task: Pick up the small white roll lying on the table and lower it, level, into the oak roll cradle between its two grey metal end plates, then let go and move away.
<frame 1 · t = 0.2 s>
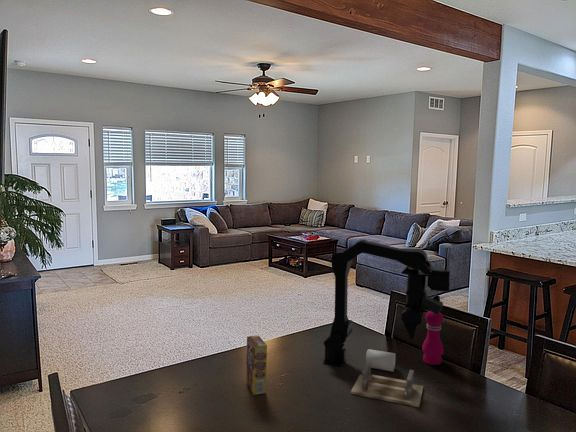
hand: (413, 334, 147), 14 cm above the table, tool pointing down, fingers open, 9 cm apart
roll: (380, 368, 154), on the table
candy box: (256, 388, 139), on the table
roll holder: (387, 391, 138), on the table
pepper mill: (432, 361, 160), on the table
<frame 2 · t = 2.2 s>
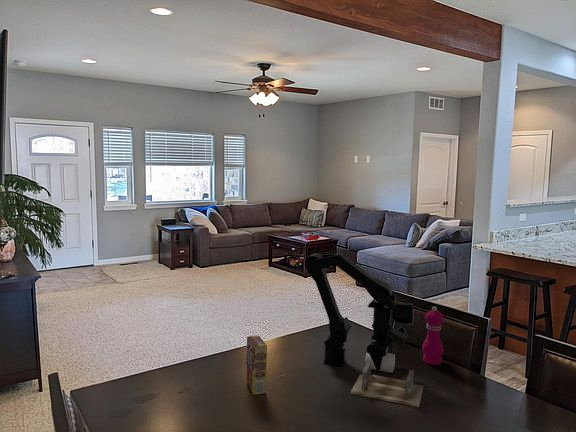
hand: (380, 364, 154), 1 cm above the table, tool pointing down, fingers open, 8 cm apart
roll: (380, 368, 154), on the table, tilted 18°, touching gripper
everything else where it was.
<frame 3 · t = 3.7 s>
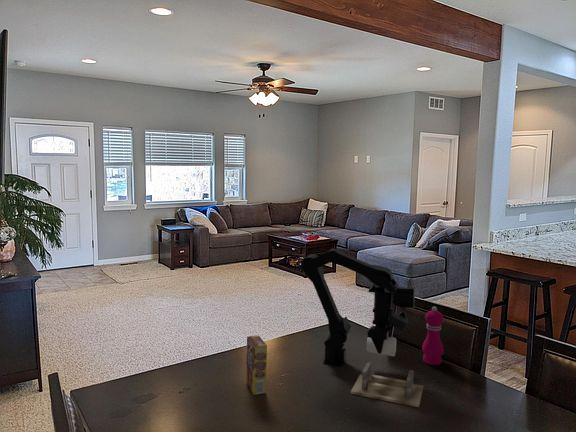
hand: (381, 349, 153), 7 cm above the table, tool pointing down, fingers closed on roll, 6 cm apart
roll: (381, 353, 153), point 5 cm above the table, touching gripper
everything else where it was.
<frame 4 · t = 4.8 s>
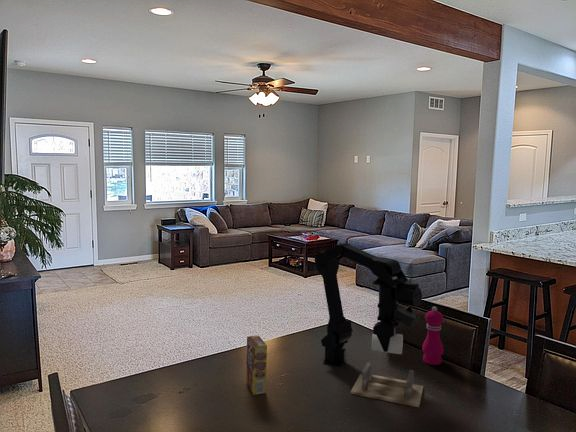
hand: (387, 347, 143), 11 cm above the table, tool pointing down, fingers closed on roll, 6 cm apart
roll: (387, 351, 143), point 10 cm above the table, touching gripper
everything else where it was.
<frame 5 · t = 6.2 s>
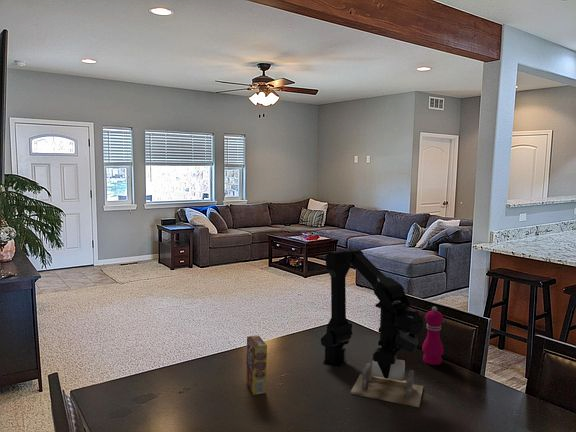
hand: (387, 373, 137), 6 cm above the table, tool pointing down, fingers closed on roll, 6 cm apart
roll: (388, 377, 138), point 4 cm above the table, touching gripper
everything else where it was.
when the fingers open (5 cm above the table, at t = 7.2 s): roll drops 2 cm, resting on roll holder.
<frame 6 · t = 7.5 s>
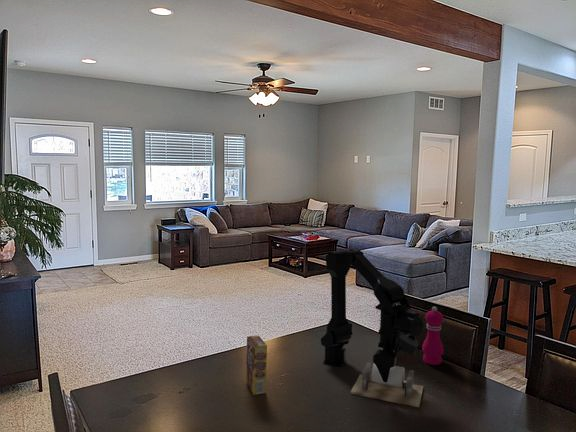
hand: (387, 375, 137), 5 cm above the table, tool pointing down, fingers open, 9 cm apart
roll: (387, 384, 138), point 2 cm above the table, touching roll holder
everything else where it was.
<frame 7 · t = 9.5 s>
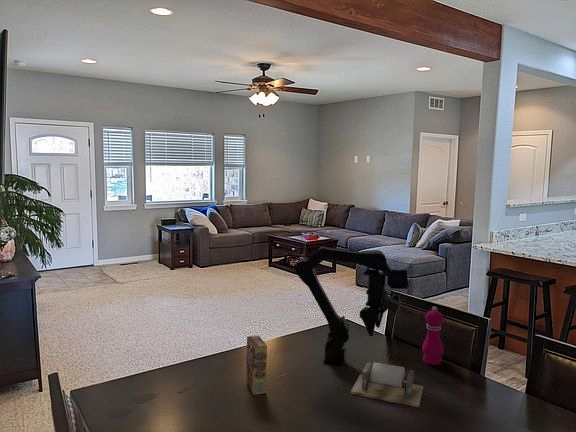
hand: (374, 331, 155), 12 cm above the table, tool pointing down, fingers open, 9 cm apart
nothing on the table moved.
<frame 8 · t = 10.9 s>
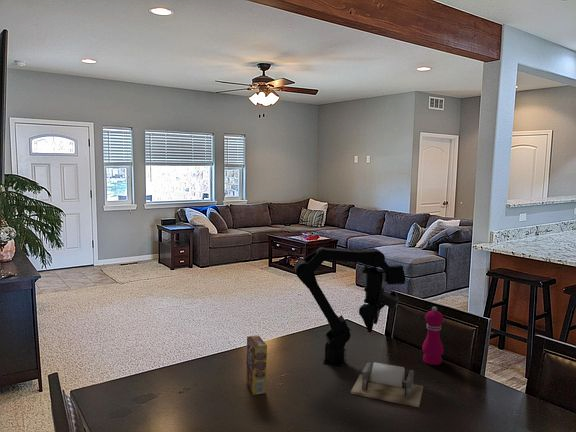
hand: (372, 328, 158), 12 cm above the table, tool pointing down, fingers open, 9 cm apart
nothing on the table moved.
at the end: roll 0.0 cm off-centre on the roll holder, point 2.2 cm above the roll holder's base; the gripper is holding nothing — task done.
